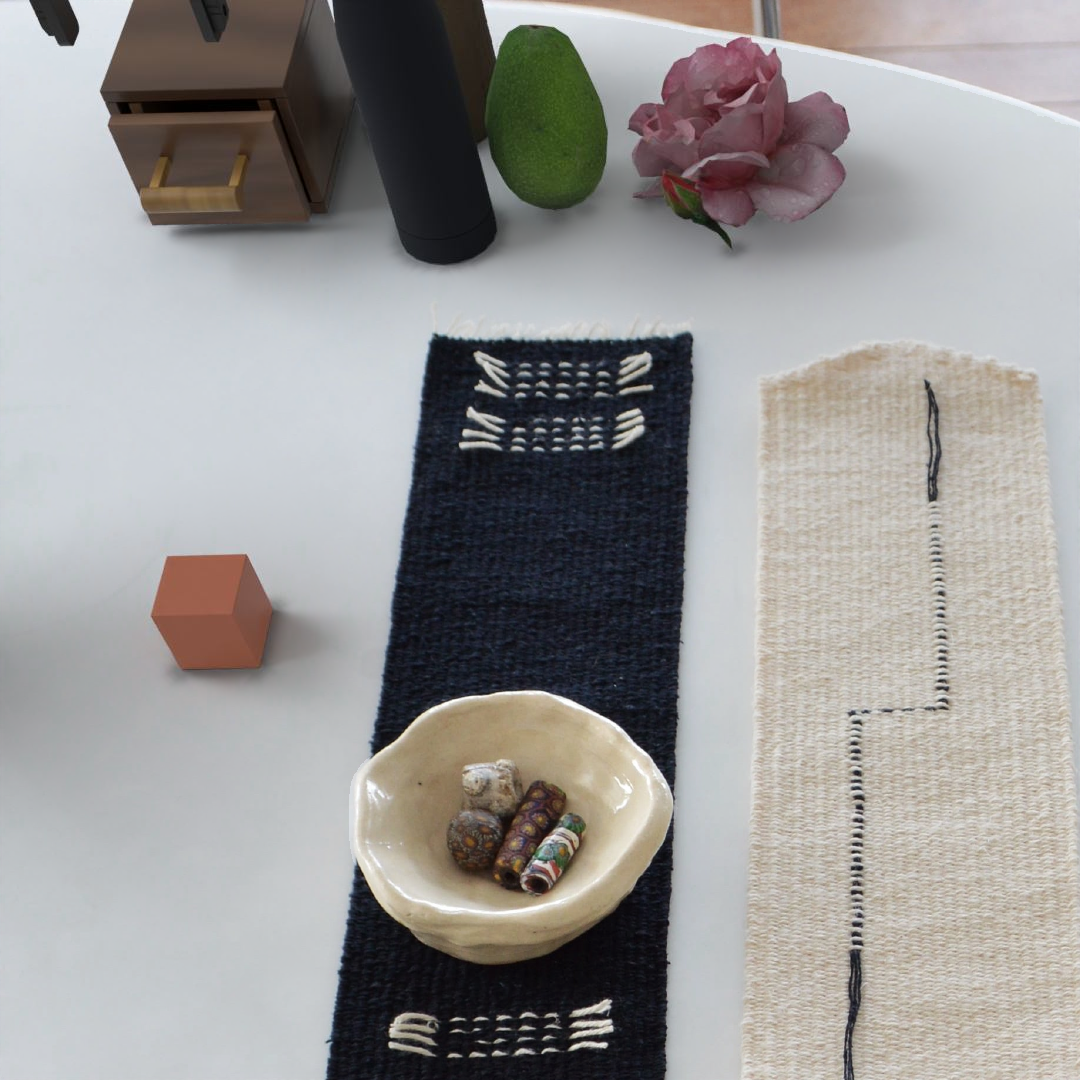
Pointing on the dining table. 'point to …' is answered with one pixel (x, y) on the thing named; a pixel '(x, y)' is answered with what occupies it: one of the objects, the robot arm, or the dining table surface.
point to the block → (212, 611)
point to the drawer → (211, 161)
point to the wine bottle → (417, 125)
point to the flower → (738, 140)
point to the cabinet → (244, 71)
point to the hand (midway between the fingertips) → (142, 36)
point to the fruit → (545, 119)
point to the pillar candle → (471, 55)
